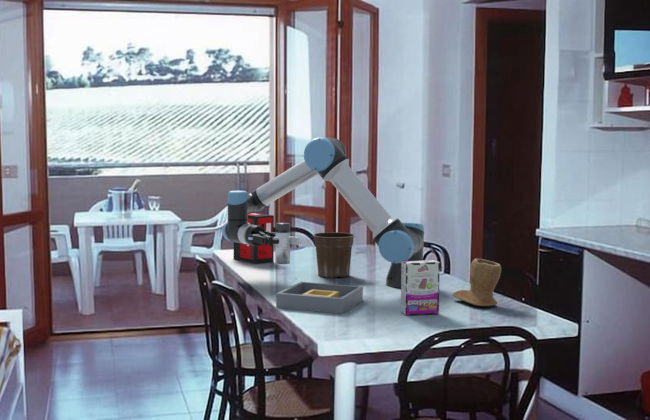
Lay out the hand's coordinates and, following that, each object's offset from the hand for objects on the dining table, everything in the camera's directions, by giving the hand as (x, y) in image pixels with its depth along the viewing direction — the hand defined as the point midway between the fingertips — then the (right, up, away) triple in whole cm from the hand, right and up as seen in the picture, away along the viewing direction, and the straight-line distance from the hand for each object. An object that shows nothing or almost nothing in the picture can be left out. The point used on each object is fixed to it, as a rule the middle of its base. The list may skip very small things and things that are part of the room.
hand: (292, 242), depth 281 cm
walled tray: (+10, -19, -16) cm, 27 cm away
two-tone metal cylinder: (-4, -8, +5) cm, 10 cm away
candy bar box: (+41, -21, -28) cm, 54 cm away
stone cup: (+62, -20, -12) cm, 66 cm away
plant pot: (+14, -15, +36) cm, 42 cm away
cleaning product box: (-20, -11, +69) cm, 73 cm away
